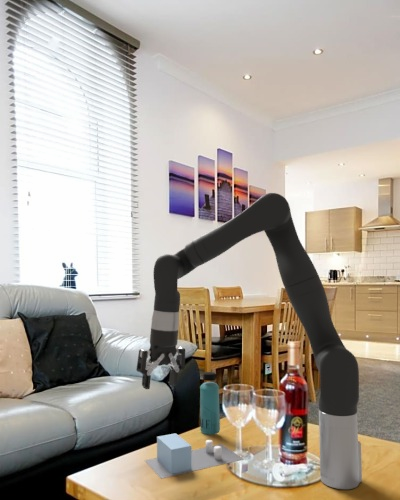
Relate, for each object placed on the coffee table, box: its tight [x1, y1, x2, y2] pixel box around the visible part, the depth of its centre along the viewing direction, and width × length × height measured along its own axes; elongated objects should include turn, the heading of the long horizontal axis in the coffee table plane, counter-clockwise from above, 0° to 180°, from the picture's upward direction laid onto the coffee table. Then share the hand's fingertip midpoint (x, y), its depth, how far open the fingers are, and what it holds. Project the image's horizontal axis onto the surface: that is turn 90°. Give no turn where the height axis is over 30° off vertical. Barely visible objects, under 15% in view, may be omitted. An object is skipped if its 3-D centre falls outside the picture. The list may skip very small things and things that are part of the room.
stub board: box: [144, 439, 244, 480], centre depth 118 cm, size 24×12×4 cm, turn 117°
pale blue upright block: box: [156, 433, 192, 474], centre depth 116 cm, size 6×10×6 cm, turn 27°
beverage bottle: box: [199, 371, 221, 435], centre depth 140 cm, size 6×7×20 cm
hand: (159, 386), depth 119 cm, fingers open, 8 cm apart
